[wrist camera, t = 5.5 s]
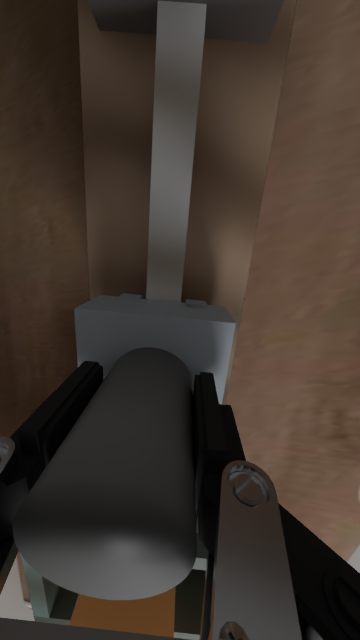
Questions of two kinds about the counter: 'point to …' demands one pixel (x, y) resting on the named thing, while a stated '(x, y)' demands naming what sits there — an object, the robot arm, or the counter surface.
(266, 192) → the counter surface
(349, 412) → the counter surface
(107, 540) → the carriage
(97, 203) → the rail base
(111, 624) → the orange block
